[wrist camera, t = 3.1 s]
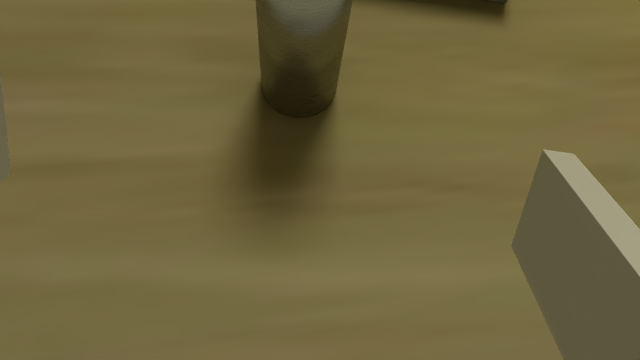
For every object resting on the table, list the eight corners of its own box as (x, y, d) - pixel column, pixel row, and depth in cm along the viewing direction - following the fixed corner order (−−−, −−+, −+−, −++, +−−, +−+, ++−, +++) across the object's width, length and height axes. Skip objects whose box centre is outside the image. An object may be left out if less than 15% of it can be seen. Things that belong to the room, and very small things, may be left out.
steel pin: (255, 111, 31) (240, -47, 19) (267, 45, 32) (259, -139, 21) (331, 122, 31) (360, -29, 19) (340, 56, 32) (372, -122, 21)
